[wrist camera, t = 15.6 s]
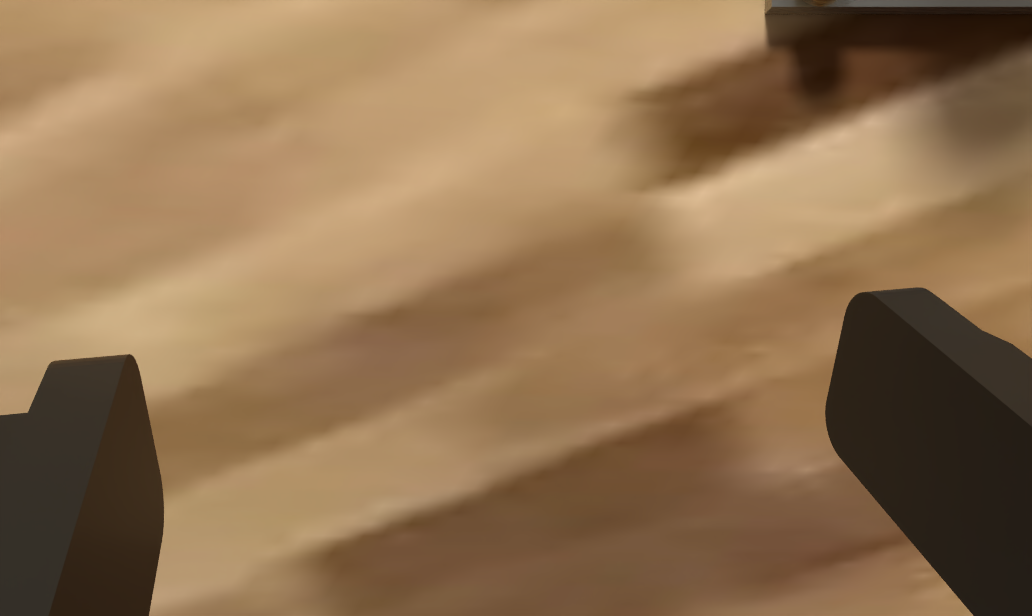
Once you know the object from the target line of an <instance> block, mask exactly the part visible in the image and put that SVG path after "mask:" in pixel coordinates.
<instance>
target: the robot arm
mask: <svg viewBox="0 0 1032 616" xmlns="http://www.w3.org/2000/svg"><path fill="white" fill-rule="evenodd" d="M825 416H826V426H827V431H828V435H829V438H830V441H831V443H832V446H833V448H834V449H835V451H836V453H837V454H838V456H839V457H840V458H841V459H842V461H843V462H844V463H845V464H846V465H847V466H848V468H849V469H850V470H851V471H852V472H853V474H854V475H855V476H856V477H857V478H858V479H859V481H860V482H861V483H862V484H863V485H864V487H865V488H866V489H867V490H868V491H869V492H870V494H871V495H872V496H873V497H874V498H875V500H876V501H877V502H878V503H879V504H880V505H881V507H882V508H883V509H884V510H885V511H886V513H887V514H888V515H889V516H890V517H891V518H892V520H893V521H894V522H895V523H896V524H897V526H898V527H899V528H900V529H901V530H902V531H903V533H904V534H905V535H906V536H907V537H908V539H909V540H910V541H911V542H912V543H913V544H914V546H915V547H916V548H917V549H918V550H919V552H920V553H921V554H922V555H923V556H924V557H925V559H926V560H927V561H928V562H929V563H930V565H931V566H932V567H933V568H934V569H935V570H936V572H937V573H938V574H939V575H940V576H941V578H942V579H943V580H944V581H945V582H946V583H947V585H948V586H949V587H950V588H951V589H952V591H953V592H954V593H955V594H956V595H957V596H958V598H959V599H960V600H961V601H962V602H963V604H964V605H965V606H966V607H967V608H968V609H969V611H970V612H971V613H972V614H973V615H974V616H1032V358H1030V357H1029V356H1027V355H1026V354H1025V353H1023V352H1022V351H1021V350H1019V349H1018V348H1017V347H1015V346H1014V345H1013V344H1011V343H1009V342H1006V341H1004V340H1002V339H1000V338H998V337H995V336H993V335H991V334H989V333H987V332H984V331H982V330H981V329H979V328H978V327H977V326H975V325H974V324H973V323H971V322H970V321H969V320H967V319H966V318H965V317H963V316H962V315H961V314H960V313H958V312H957V311H956V310H954V309H953V308H952V307H950V306H949V305H948V304H946V303H945V302H944V301H942V300H941V299H940V298H938V297H937V296H936V295H934V294H933V293H932V292H930V291H929V290H927V289H924V288H906V289H895V290H883V291H872V292H862V293H859V294H857V295H855V296H854V297H853V298H852V300H851V301H850V303H849V304H848V307H847V309H846V313H845V316H844V321H843V326H842V331H841V335H840V340H839V345H838V349H837V354H836V359H835V363H834V368H833V373H832V377H831V382H830V387H829V392H828V396H827V401H826V410H825ZM163 527H164V501H163V489H162V481H161V475H160V470H159V465H158V460H157V455H156V450H155V445H154V440H153V435H152V430H151V425H150V420H149V415H148V410H147V406H146V401H145V396H144V391H143V386H142V381H141V376H140V372H139V368H138V365H137V363H136V360H135V359H134V357H133V356H132V355H130V354H128V355H117V356H105V357H94V358H82V359H71V360H59V361H53V362H51V363H50V364H49V366H48V368H47V370H46V372H45V374H44V377H43V379H42V381H41V384H40V386H39V388H38V391H37V393H36V395H35V398H34V400H33V402H32V404H31V407H30V409H29V411H28V413H20V414H10V415H0V616H149V611H150V605H151V600H152V594H153V588H154V583H155V577H156V571H157V566H158V560H159V554H160V548H161V543H162V536H163Z"/></svg>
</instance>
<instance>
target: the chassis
mask: <svg viewBox="0 0 1032 616" xmlns="http://www.w3.org/2000/svg"><path fill="white" fill-rule="evenodd" d="M765 14H1032V0H765Z"/></svg>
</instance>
